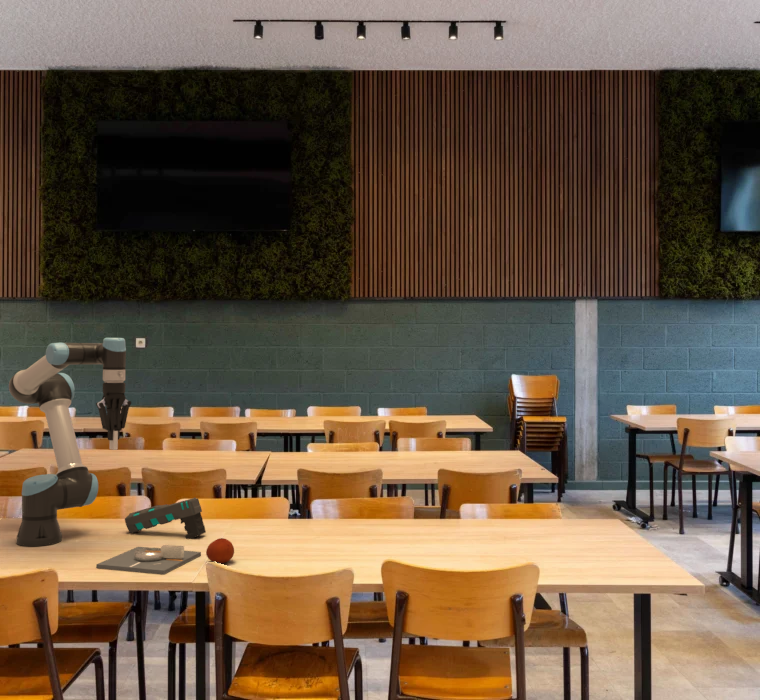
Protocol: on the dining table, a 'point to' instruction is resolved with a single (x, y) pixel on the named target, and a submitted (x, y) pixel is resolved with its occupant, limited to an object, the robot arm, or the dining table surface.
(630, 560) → the dining table surface
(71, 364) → the robot arm
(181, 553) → the dial
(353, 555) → the dining table surface
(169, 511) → the gun
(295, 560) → the dining table surface
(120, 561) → the panel
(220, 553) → the fruit
